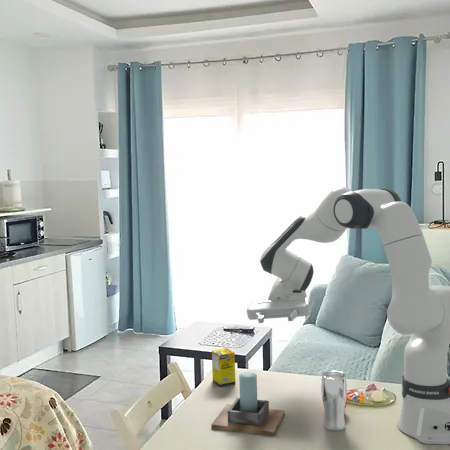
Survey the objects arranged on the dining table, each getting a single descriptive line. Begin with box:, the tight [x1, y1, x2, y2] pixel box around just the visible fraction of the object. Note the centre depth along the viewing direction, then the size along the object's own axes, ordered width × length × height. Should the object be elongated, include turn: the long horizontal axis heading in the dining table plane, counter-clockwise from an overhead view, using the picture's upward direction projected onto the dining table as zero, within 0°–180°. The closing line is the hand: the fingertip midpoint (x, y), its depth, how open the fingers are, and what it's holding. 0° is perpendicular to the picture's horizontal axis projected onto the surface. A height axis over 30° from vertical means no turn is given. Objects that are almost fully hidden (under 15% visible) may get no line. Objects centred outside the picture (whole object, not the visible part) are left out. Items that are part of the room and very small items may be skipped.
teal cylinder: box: [238, 371, 258, 413], centre depth 167 cm, size 5×5×12 cm
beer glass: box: [320, 369, 348, 432], centre depth 162 cm, size 7×7×15 cm
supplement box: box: [211, 347, 236, 387], centre depth 196 cm, size 6×6×11 cm
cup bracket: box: [210, 397, 286, 437], centre depth 167 cm, size 18×14×5 cm
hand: (275, 319), depth 180 cm, fingers open, 8 cm apart
